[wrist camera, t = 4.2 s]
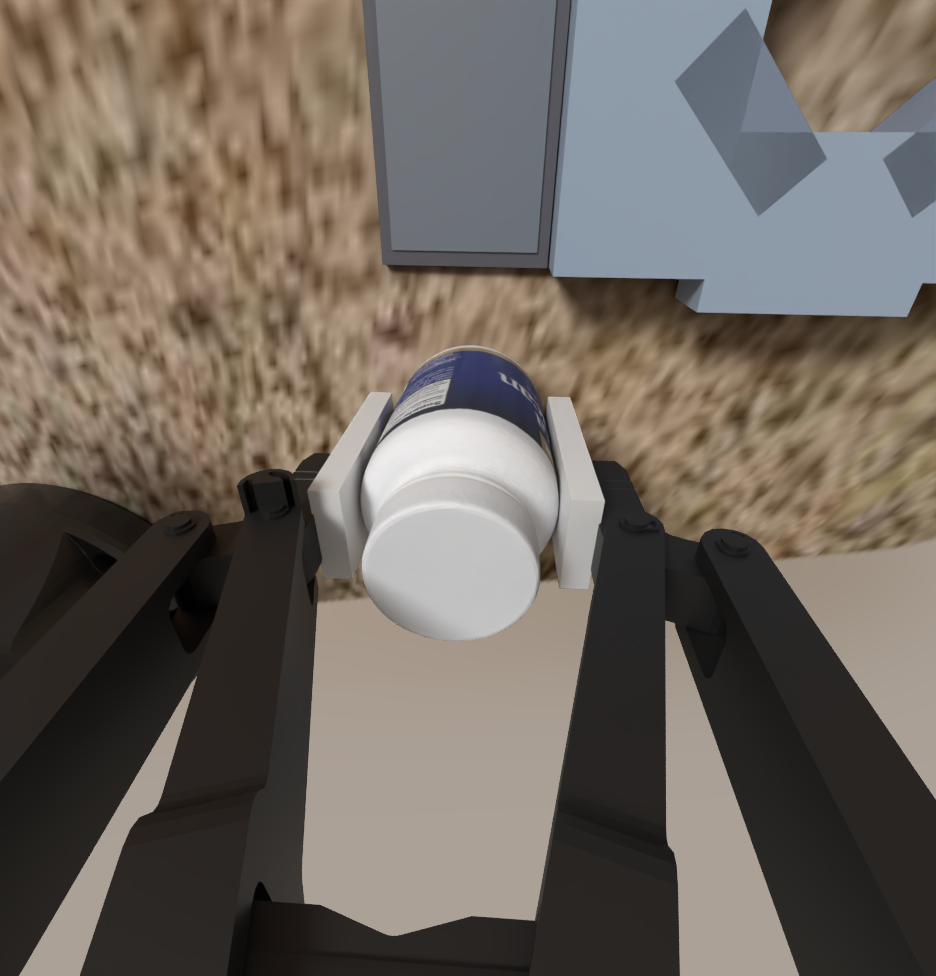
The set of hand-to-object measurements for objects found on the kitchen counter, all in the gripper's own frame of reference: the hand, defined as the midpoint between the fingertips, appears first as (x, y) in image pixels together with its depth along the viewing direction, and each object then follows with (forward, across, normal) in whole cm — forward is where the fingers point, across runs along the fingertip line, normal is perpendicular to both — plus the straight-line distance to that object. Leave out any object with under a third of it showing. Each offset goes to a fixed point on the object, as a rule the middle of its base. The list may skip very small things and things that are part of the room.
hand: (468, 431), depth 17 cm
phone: (+4, 0, +11) cm, 12 cm away
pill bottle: (+2, 0, 0) cm, 2 cm away
